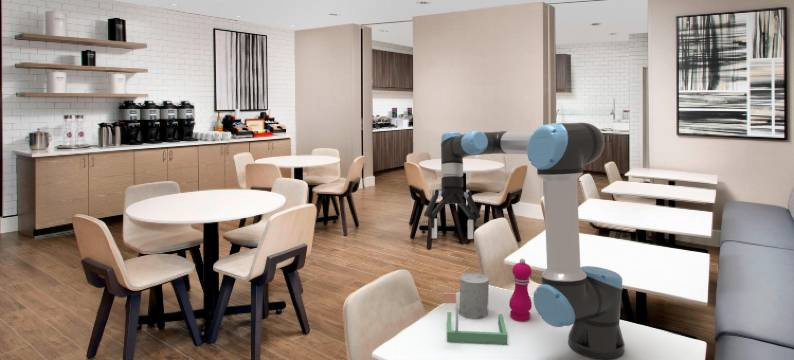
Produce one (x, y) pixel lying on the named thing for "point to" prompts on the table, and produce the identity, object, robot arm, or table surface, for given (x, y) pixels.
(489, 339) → the putting stop
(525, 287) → the pepper mill
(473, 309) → the concrete cylinder
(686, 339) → the table surface
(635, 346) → the table surface
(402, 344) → the table surface
